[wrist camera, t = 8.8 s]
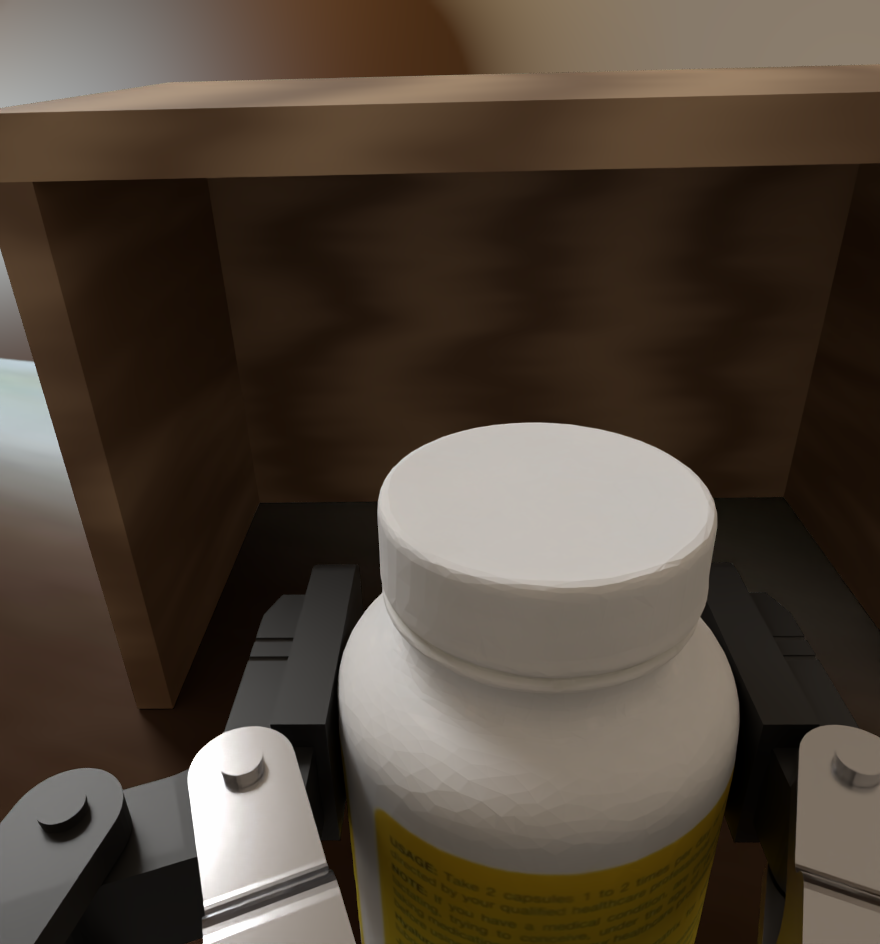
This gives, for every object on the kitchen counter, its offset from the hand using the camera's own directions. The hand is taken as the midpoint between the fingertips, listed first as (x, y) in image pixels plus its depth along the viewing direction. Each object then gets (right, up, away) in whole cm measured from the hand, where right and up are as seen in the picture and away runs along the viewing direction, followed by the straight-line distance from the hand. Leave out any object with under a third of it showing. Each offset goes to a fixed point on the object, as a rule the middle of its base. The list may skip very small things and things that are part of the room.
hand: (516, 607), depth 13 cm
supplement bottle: (0, -7, +1) cm, 7 cm away
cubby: (+2, -1, +13) cm, 14 cm away
